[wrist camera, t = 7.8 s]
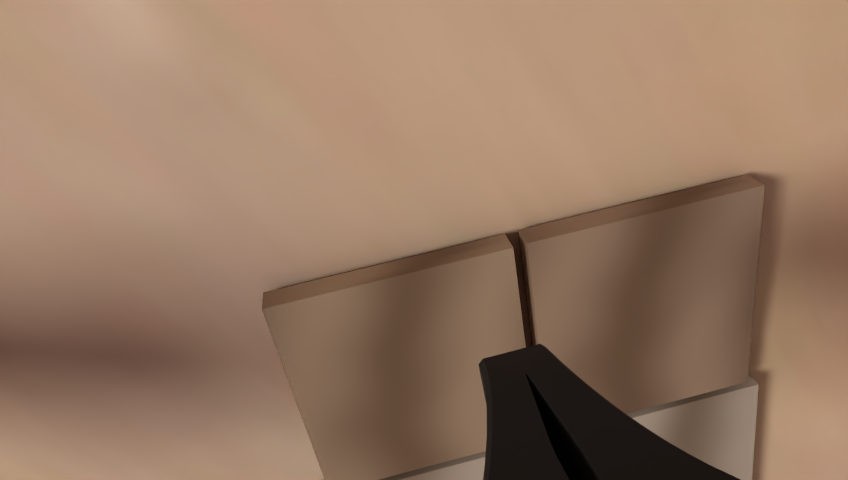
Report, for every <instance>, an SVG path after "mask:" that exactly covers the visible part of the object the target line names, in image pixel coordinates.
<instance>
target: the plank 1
mask: <svg viewBox="0 0 848 480" xmlns="http://www.w3.org/2000/svg"><path fill="white" fill-rule="evenodd" d="M262 310H263V313H264V316H265V318H266V321H267V324H268V327H269V329H270V332H271V335H272V337H273V340H274V343H275V346H276V348H277V351H278V354H279V356H280V359H281V362H282V365H283V367H284V370H285V373H286V376H287V378H288V381H289V384H290V386H291V389H292V392H293V395H294V397H295V400H296V403H297V405H298V408H299V411H300V414H301V416H302V419H303V422H304V424H305V427H306V430H307V433H308V435H309V438H310V441H311V443H312V446H313V449H314V452H315V454H316V457H317V460H318V462H319V465H320V468H321V471H322V473H323V476H324V479H325V480H379V479H383V478H387V477H390V476H394V475H398V474H402V473H405V472H409V471H413V470H417V469H421V468H424V467H428V466H432V465H436V464H439V463H443V462H447V461H451V460H455V459H458V458H462V457H466V456H470V455H473V454H477V453H481V452H485V451H486V440H487V405H486V400H485V395H484V390H483V385H482V380H481V375H480V370H479V365H478V364H479V363H480V362H481V361H482V359H484V358H487V357H491V356H495V355H499V354H503V353H507V352H510V351H514V350H518V349H522V348H526V345H525V337H524V329H523V321H522V313H521V305H520V297H519V289H518V281H517V273H516V265H515V257H514V249H513V246H512V245H511V243H510V241H509V240H508V238H507V236H506V235H505V234H503V235H499V236H495V237H490V238H486V239H482V240H478V241H474V242H470V243H466V244H462V245H458V246H453V247H449V248H445V249H441V250H437V251H433V252H429V253H425V254H420V255H416V256H412V257H408V258H404V259H400V260H396V261H392V262H388V263H383V264H379V265H375V266H371V267H367V268H363V269H359V270H355V271H351V272H346V273H342V274H338V275H334V276H330V277H326V278H322V279H318V280H314V281H309V282H305V283H301V284H297V285H293V286H289V287H285V288H281V289H277V290H272V291H268V292H264V293H263V304H262Z"/></svg>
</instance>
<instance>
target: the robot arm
mask: <svg viewBox="0 0 848 480" xmlns="http://www.w3.org/2000/svg"><path fill="white" fill-rule="evenodd" d="M478 365H479V370H480V375H481V380H482V385H483V390H484V395H485V400H486V405H487V440H486V454H485V467H484V476H483V480H741V479H738V478H736V477H734V476H732V475H730V474H728V473H726V472H724V471H721V470H719V469H717V468H715V467H713V466H711V465H709V464H707V463H705V462H703V461H701V460H699V459H698V458H696V457H694V456H692V455H690V454H688V453H686V452H685V451H683V450H681V449H680V448H678V447H676V446H674V445H673V444H671V443H669V442H668V441H666V440H664V439H663V438H661V437H660V436H658V435H656V434H655V433H653V432H652V431H650V430H649V429H647V428H646V427H644V426H643V425H641V424H640V423H638V422H637V421H635V420H634V419H632V418H631V417H630V416H628V415H627V414H625V413H624V412H623V411H621V410H620V409H618V408H617V407H616V406H614V405H613V404H612V403H610V402H609V401H608V400H607V399H605V398H604V397H603V396H601V395H600V394H599V393H598V392H596V391H595V390H594V389H593V388H591V387H590V386H589V385H588V384H586V383H585V382H584V381H583V380H582V379H580V378H579V377H578V376H577V375H576V374H575V373H573V372H572V371H571V370H570V369H569V368H568V367H567V366H566V365H564V364H563V363H562V362H561V361H560V360H559V359H558V358H557V357H556V356H555V355H554V354H553V353H552V352H551V351H549V350H548V349H547V348H546V347H545V346H543V345H542V344H537V345H533V346H529V347H526V348H522V349H518V350H514V351H510V352H507V353H503V354H499V355H495V356H491V357H487V358H484V359H482V361H481V362H480V363H479V364H478Z"/></svg>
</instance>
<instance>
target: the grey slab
mask: <svg viewBox="0 0 848 480" xmlns="http://www.w3.org/2000/svg"><path fill="white" fill-rule="evenodd" d="M758 386H759V384H758V383H757V382H756V381H755V380H754V379H753V378H752V377H751V376H750V375H749V374H748V382H745V383H741V384H738V385H734V386H730V387H726V388H723V389H719V390H715V391H711V392H707V393H704V394H700V395H696V396H692V397H689V398H685V399H681V400H677V401H673V402H670V403H666V404H662V405H658V406H655V407H651V408H647V409H643V410H639V411H636V412H632V413H628V414H627V415H628V416H630V417H631V418H632V419H634V420H635V421H637V422H638V423H640V424H641V425H643V426H644V427H646V428H647V429H649V430H650V431H652V432H653V433H655V434H656V435H658V436H660V437H661V438H663V439H664V440H666V441H668V442H669V443H671V444H673V445H674V446H676V447H678V448H680V449H681V450H683V451H685V452H686V453H688V454H690V455H692V456H694V457H696V458H698V459H699V460H701V461H703V462H705V463H707V464H709V465H711V466H713V467H715V468H717V469H719V470H721V471H724V472H726V473H728V474H730V475H732V476H734V477H736V478H738V479H741V480H752V473H753V458H754V444H755V429H756V415H757V401H758ZM485 454H486V451H485V452H481V453H477V454H473V455H470V456H466V457H462V458H458V459H455V460H451V461H447V462H443V463H439V464H436V465H432V466H428V467H424V468H421V469H417V470H413V471H409V472H405V473H402V474H398V475H394V476H390V477H387V478H383V479H379V480H483V476H484V467H485Z"/></svg>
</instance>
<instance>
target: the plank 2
mask: <svg viewBox="0 0 848 480" xmlns="http://www.w3.org/2000/svg"><path fill="white" fill-rule="evenodd" d="M764 191H765V185H764V184H762V183H761V182H759V181H757V180H756V179H754V178H753V177H751V176H749V175H748V174H747V175H743V176H739V177H734V178H730V179H726V180H722V181H718V182H714V183H710V184H706V185H702V186H697V187H693V188H689V189H685V190H681V191H677V192H673V193H669V194H665V195H660V196H656V197H652V198H648V199H644V200H640V201H636V202H632V203H628V204H623V205H619V206H615V207H611V208H607V209H603V210H599V211H595V212H591V213H586V214H582V215H578V216H574V217H570V218H566V219H562V220H558V221H553V222H549V223H545V224H541V225H537V226H533V227H529V228H525V229H521V230H519V239H520V247H521V255H522V264H523V272H524V280H525V289H526V297H527V305H528V313H529V322H530V330H531V338H532V346H533V345H537V344H542V345H543V346H545V347H546V348H547V349H548V350H549V351H551V352H552V353H553V354H554V355H555V356H556V357H557V358H558V359H559V360H560V361H561V362H562V363H563V364H564V365H566V366H567V367H568V368H569V369H570V370H571V371H572V372H573V373H575V374H576V375H577V376H578V377H579V378H580V379H582V380H583V381H584V382H585V383H586V384H588V385H589V386H590V387H591V388H593V389H594V390H595V391H596V392H598V393H599V394H600V395H601V396H603V397H604V398H605V399H607V400H608V401H609V402H610V403H612V404H613V405H614V406H616V407H617V408H618V409H620V410H621V411H623V412H624V413H625V414H628V413H632V412H636V411H639V410H643V409H647V408H651V407H655V406H658V405H662V404H666V403H670V402H673V401H677V400H681V399H685V398H689V397H692V396H696V395H700V394H704V393H707V392H711V391H715V390H719V389H723V388H726V387H730V386H734V385H738V384H741V383H745V382H748V372H749V360H750V349H751V338H752V326H753V315H754V304H755V293H756V281H757V270H758V259H759V248H760V236H761V225H762V214H763V202H764Z"/></svg>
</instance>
